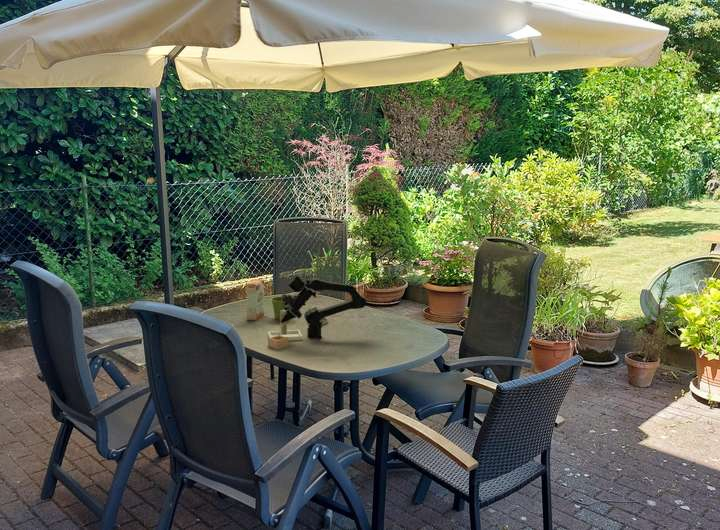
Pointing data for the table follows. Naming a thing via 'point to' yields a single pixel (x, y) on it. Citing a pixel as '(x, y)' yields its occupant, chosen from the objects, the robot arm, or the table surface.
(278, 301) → the plant pot
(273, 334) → the tray
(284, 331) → the dowel pin
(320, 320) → the ceramic mug
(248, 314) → the cracker box
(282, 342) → the pin cup
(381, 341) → the table surface
